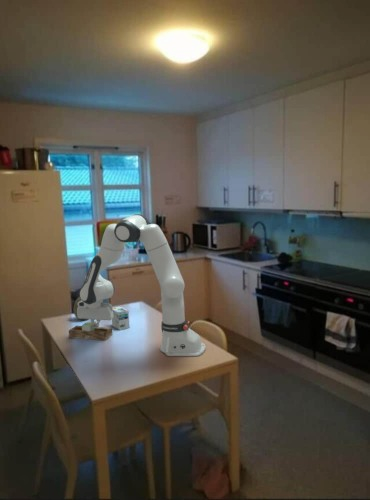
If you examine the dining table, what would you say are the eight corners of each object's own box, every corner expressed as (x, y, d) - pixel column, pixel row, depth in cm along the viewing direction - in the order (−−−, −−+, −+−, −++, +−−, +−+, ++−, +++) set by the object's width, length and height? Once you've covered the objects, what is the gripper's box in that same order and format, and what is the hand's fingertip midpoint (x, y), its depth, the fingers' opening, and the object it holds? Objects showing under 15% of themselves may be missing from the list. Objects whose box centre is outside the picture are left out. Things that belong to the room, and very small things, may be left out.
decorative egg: (84, 323, 232) (82, 299, 230) (70, 321, 237) (68, 297, 235) (95, 317, 242) (94, 294, 240) (82, 315, 247) (80, 293, 244)
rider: (96, 330, 213) (96, 321, 212) (90, 334, 207) (90, 325, 206) (88, 329, 214) (88, 321, 214) (82, 334, 208) (81, 325, 207)
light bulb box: (129, 328, 222) (129, 310, 220) (119, 330, 218) (118, 312, 216) (122, 323, 231) (121, 305, 229) (111, 325, 227) (110, 307, 225)
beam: (112, 334, 212) (112, 327, 211) (105, 340, 204) (105, 333, 203) (76, 332, 217) (76, 325, 217) (69, 337, 210) (68, 330, 209)
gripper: (114, 301, 207) (116, 326, 209) (80, 299, 212) (82, 323, 215) (109, 304, 201) (110, 330, 203) (74, 303, 206) (76, 327, 209)
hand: (96, 326), depth 209 cm, fingers closed
